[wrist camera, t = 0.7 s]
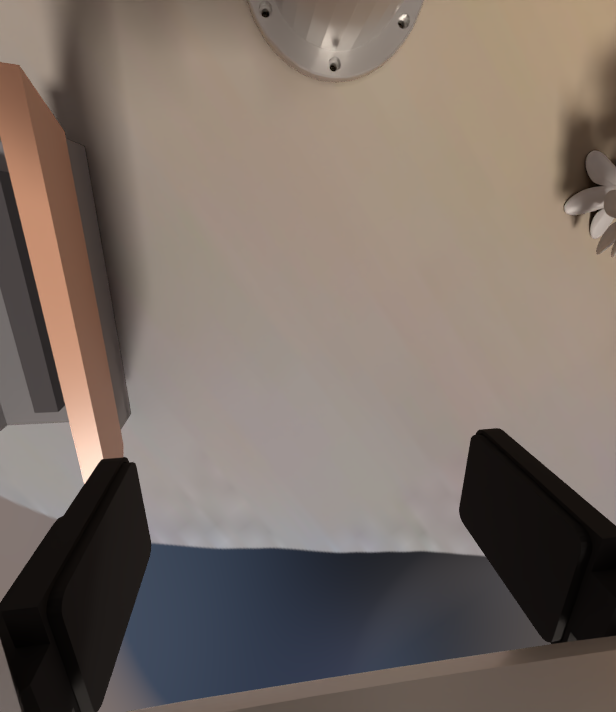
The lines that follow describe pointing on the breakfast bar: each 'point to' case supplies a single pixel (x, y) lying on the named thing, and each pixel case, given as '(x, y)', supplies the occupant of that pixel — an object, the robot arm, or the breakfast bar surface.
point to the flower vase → (598, 200)
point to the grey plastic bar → (25, 307)
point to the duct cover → (59, 265)
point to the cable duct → (3, 367)
